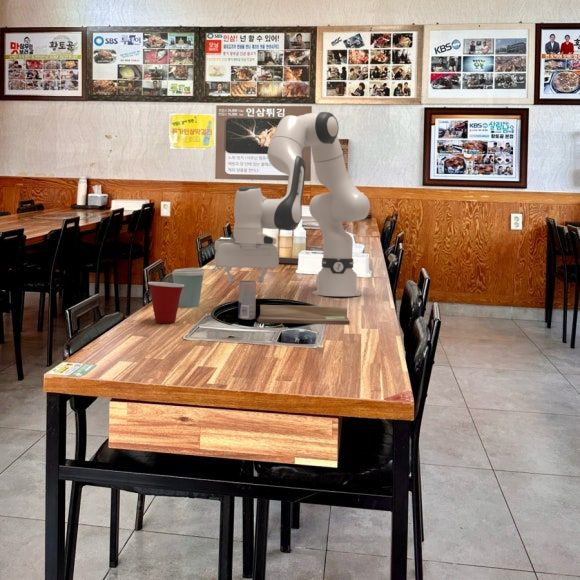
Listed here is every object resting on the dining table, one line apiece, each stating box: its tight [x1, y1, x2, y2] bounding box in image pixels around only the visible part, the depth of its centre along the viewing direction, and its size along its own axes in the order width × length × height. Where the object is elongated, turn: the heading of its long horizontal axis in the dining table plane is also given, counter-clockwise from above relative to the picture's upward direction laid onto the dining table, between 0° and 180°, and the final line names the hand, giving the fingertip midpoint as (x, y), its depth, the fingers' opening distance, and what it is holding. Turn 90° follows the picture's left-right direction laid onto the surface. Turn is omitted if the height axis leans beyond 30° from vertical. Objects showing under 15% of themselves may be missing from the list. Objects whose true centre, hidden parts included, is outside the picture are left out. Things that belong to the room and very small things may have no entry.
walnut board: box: [257, 304, 351, 325], centre depth 207 cm, size 12×28×4 cm, turn 89°
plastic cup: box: [147, 281, 184, 324], centre depth 197 cm, size 11×11×12 cm
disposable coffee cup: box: [171, 267, 205, 309], centre depth 220 cm, size 11×11×15 cm
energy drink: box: [237, 280, 257, 320], centre depth 207 cm, size 5×5×12 cm
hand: (246, 282), depth 207 cm, fingers open, 8 cm apart
